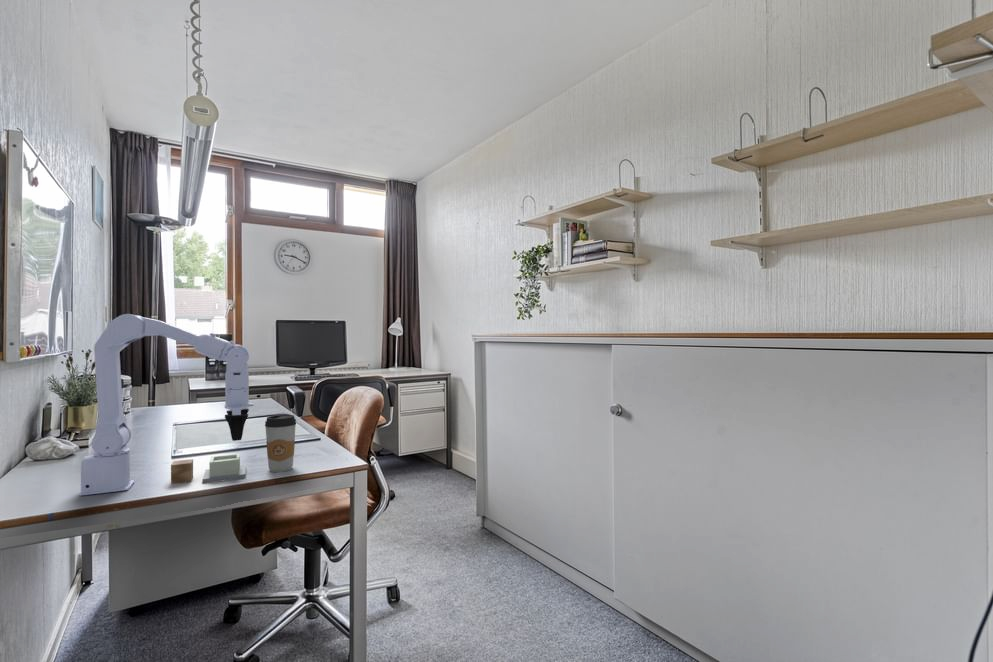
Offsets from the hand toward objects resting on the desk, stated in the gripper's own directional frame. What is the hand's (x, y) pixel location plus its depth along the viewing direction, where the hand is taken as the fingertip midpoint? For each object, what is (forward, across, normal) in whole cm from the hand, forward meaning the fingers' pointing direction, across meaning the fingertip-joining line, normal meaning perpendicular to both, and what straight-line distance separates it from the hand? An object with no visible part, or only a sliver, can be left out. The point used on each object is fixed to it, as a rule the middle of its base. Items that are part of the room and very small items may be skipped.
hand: (237, 437), depth 137 cm
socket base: (+10, 0, +3) cm, 11 cm away
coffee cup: (+10, 0, -11) cm, 15 cm away
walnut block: (+10, 0, +13) cm, 17 cm away
